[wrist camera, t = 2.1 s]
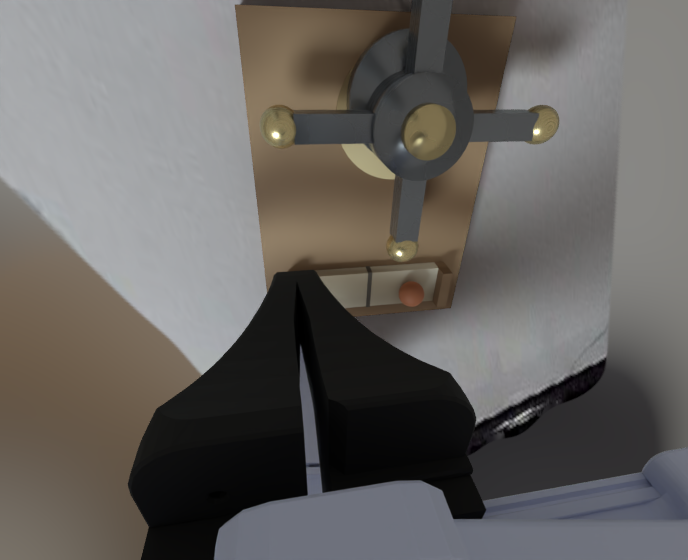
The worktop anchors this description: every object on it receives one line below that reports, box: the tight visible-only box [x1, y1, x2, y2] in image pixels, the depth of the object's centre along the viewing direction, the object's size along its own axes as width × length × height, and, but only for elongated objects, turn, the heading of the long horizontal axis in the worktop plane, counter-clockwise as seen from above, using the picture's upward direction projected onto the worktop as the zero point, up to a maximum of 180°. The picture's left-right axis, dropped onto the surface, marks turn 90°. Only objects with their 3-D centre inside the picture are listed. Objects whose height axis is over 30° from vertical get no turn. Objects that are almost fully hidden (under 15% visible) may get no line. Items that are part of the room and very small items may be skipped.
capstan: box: [260, 0, 559, 262], centre depth 15 cm, size 13×13×4 cm
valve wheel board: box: [235, 5, 516, 317], centre depth 19 cm, size 16×12×4 cm
